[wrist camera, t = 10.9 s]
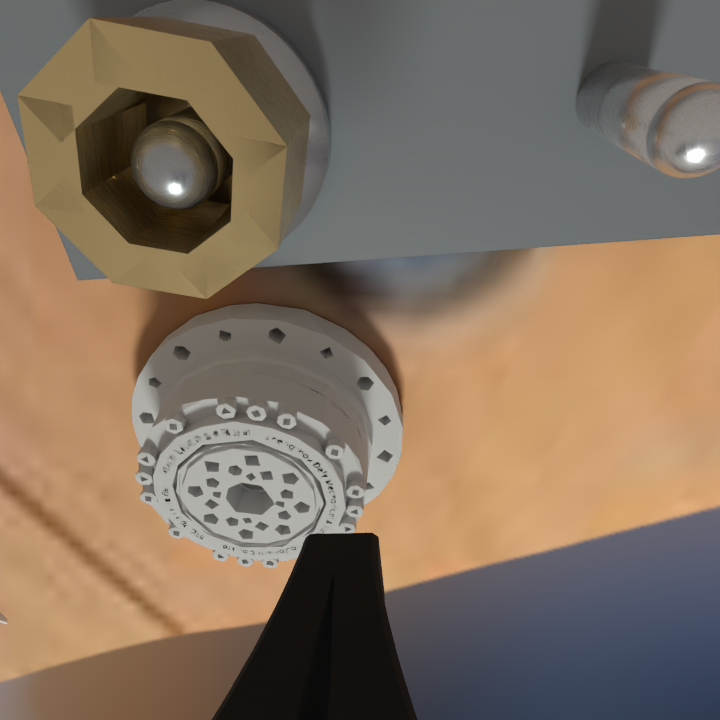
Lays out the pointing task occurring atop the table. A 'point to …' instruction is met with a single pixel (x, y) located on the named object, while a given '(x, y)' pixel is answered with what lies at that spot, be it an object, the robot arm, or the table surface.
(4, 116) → the table surface
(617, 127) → the stand rod
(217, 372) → the mechanical component
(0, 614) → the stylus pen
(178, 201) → the hub
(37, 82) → the collar
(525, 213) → the base board
